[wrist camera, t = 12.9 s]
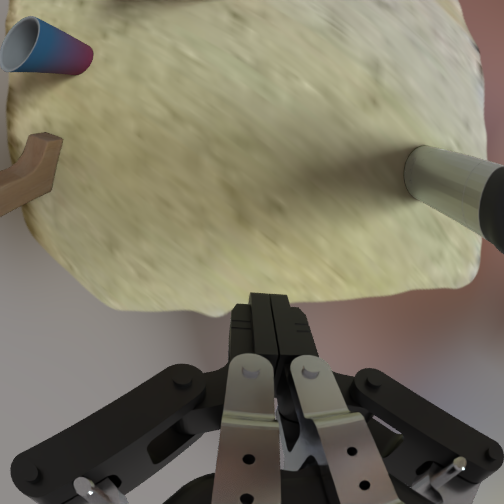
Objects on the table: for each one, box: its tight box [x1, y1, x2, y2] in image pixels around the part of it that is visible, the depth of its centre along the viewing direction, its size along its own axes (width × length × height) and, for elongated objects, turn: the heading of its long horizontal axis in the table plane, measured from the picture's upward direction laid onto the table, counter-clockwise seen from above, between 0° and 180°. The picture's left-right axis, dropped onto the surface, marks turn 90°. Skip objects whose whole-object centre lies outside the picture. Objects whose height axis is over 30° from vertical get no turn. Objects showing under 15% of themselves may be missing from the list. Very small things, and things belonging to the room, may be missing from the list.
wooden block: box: [0, 132, 63, 217], centre depth 26 cm, size 9×4×18 cm, turn 154°
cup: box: [0, 16, 93, 75], centre depth 22 cm, size 7×7×15 cm
